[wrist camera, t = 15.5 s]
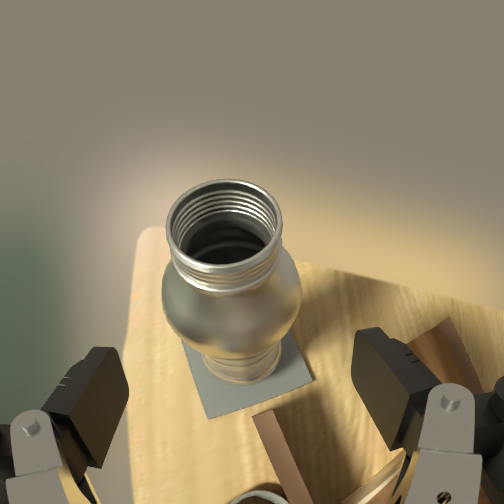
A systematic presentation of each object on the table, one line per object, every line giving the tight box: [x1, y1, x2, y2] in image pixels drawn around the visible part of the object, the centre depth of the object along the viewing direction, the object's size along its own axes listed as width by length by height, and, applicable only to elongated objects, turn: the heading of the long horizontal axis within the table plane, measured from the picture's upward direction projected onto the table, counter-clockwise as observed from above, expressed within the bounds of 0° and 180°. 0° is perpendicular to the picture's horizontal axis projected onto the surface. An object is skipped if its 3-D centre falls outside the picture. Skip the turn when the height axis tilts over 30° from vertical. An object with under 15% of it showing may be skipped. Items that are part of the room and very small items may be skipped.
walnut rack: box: [252, 318, 491, 504], centre depth 15 cm, size 18×22×12 cm
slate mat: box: [181, 329, 313, 419], centre depth 27 cm, size 10×10×1 cm
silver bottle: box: [162, 179, 302, 386], centre depth 18 cm, size 6×7×20 cm
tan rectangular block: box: [340, 450, 406, 504], centre depth 17 cm, size 12×5×6 cm, turn 124°
